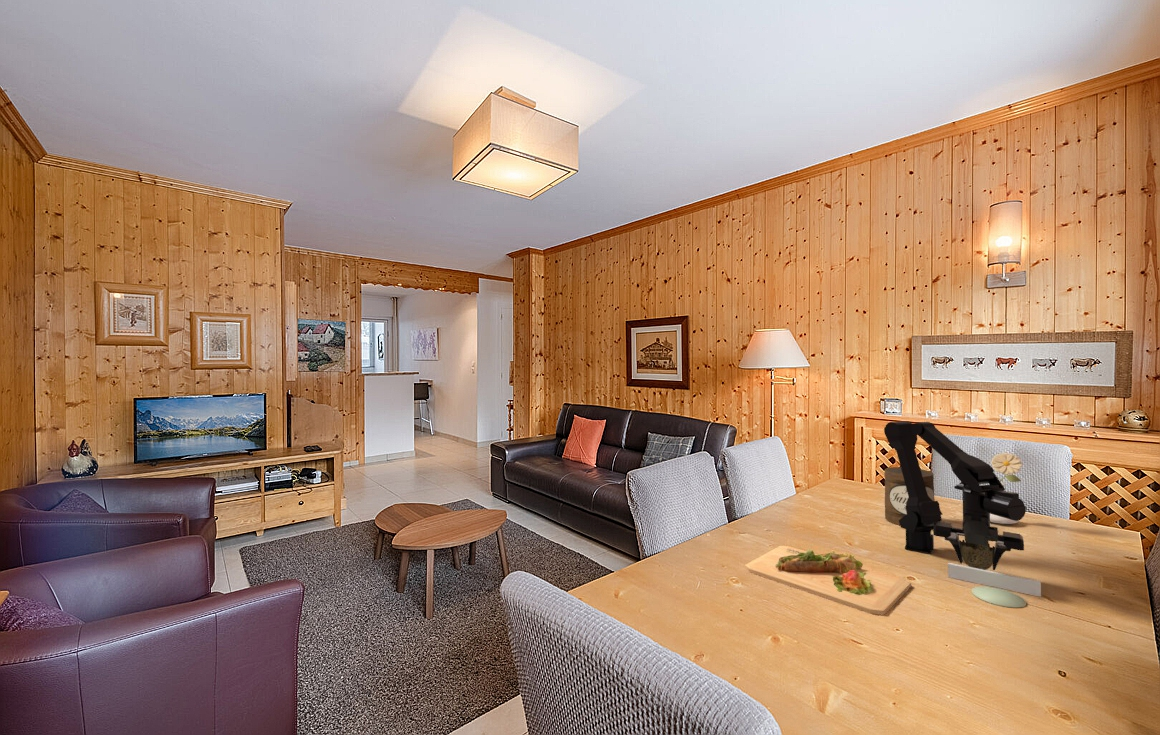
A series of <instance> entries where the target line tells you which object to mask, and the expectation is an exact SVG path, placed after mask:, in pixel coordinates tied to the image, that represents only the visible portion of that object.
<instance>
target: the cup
mask: <svg viewBox="0 0 1160 735" xmlns="http://www.w3.org/2000/svg"><path fill="white" fill-rule="evenodd" d="M959 543H960V549H961V555H962V562H964V564H966V565H965V566H968V567H973V568H978V569H983V570H989V569H990V568H991V567H993V558H994V550H995V545H992V547H991V546H990V543H989V542H988V545H987V546H983V545H980V544H975V543H967V542H966V541H965V539H962V540H961V539H959Z"/></svg>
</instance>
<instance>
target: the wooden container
mask: <svg viewBox="0 0 1160 735" xmlns="http://www.w3.org/2000/svg"><path fill="white" fill-rule="evenodd" d="M920 470H921V473H922V477H923V480H924V484H925V487H926V491H927V494H928V496H929V497H930V498H931V499H932V500H933V501H936V500H935V485H934V484H935V483H934V473H933V472H931V471H930V470H926V469H923V468H922V469H921V468H920ZM908 498H909V496H908V492H907V488H906V485H905V481H904V477H903V474H902V470H901V466H893V467H887V468H884V518H885V520H886V521H887V522H889V523H892V524H894V525H898V526H900V523H899V520H900V519H901V518H903V517H904V516H905V515H906V514H907V513H906V504H907V501H908Z"/></svg>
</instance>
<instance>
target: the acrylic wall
mask: <svg viewBox="0 0 1160 735" xmlns="http://www.w3.org/2000/svg"><path fill="white" fill-rule="evenodd" d="M947 577H948V578H951V579H955V580H959V581H964V582H969V583H973V584H979V585H984V586H986V587H992V588H997V589H1002V590H1005V591H1010V592H1011V591H1012V592H1015V593H1016V592H1017V593H1019V594H1020V593H1022V594H1026V595H1031V596H1035V597H1040V598H1041V597H1042V583H1041V580H1039V579H1034V578H1028V577H1023V576H1022V577H1021V576H1017V575H1012V574H1007V573H1003V572H998V571H994V570H993V571H992V570H989V569H986V570H983V569H978V568H973V567H969V566H968V565H964V564H963V565H962V564H958V563H957V564H956V563H951V562H948V563H947Z"/></svg>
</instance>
